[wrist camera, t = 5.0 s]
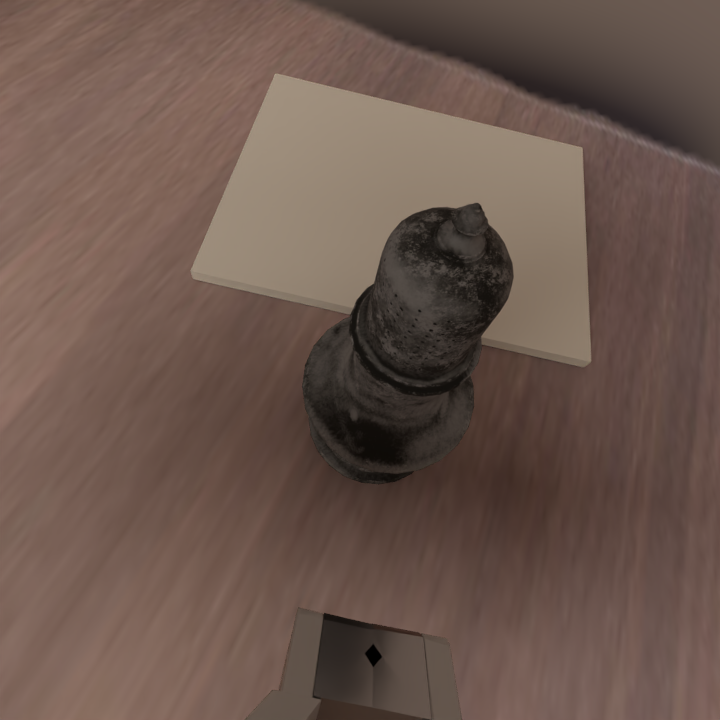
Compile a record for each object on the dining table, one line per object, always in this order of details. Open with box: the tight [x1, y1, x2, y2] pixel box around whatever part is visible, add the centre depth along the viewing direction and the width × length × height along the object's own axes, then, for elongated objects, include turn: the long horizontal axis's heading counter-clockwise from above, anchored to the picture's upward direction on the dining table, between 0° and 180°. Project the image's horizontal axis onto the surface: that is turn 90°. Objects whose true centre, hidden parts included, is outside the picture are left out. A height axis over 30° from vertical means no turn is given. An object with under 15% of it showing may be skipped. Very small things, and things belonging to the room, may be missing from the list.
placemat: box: [191, 73, 591, 368], centre depth 24 cm, size 18×14×1 cm
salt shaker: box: [302, 203, 514, 484], centre depth 13 cm, size 6×6×12 cm
